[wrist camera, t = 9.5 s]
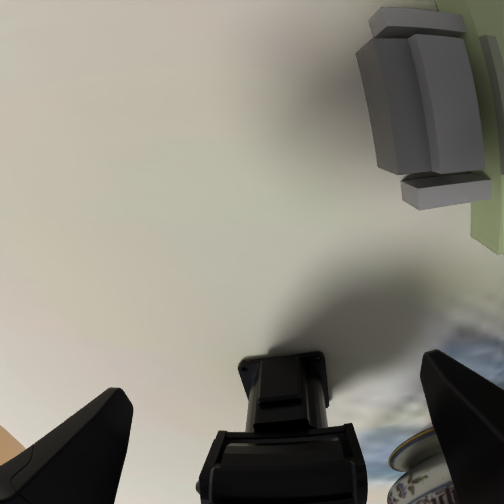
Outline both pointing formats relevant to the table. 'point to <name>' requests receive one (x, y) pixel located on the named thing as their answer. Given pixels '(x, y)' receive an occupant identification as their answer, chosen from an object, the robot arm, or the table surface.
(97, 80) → the table surface
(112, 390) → the robot arm
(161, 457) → the table surface
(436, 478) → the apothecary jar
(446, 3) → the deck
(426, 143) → the grey stepped block
